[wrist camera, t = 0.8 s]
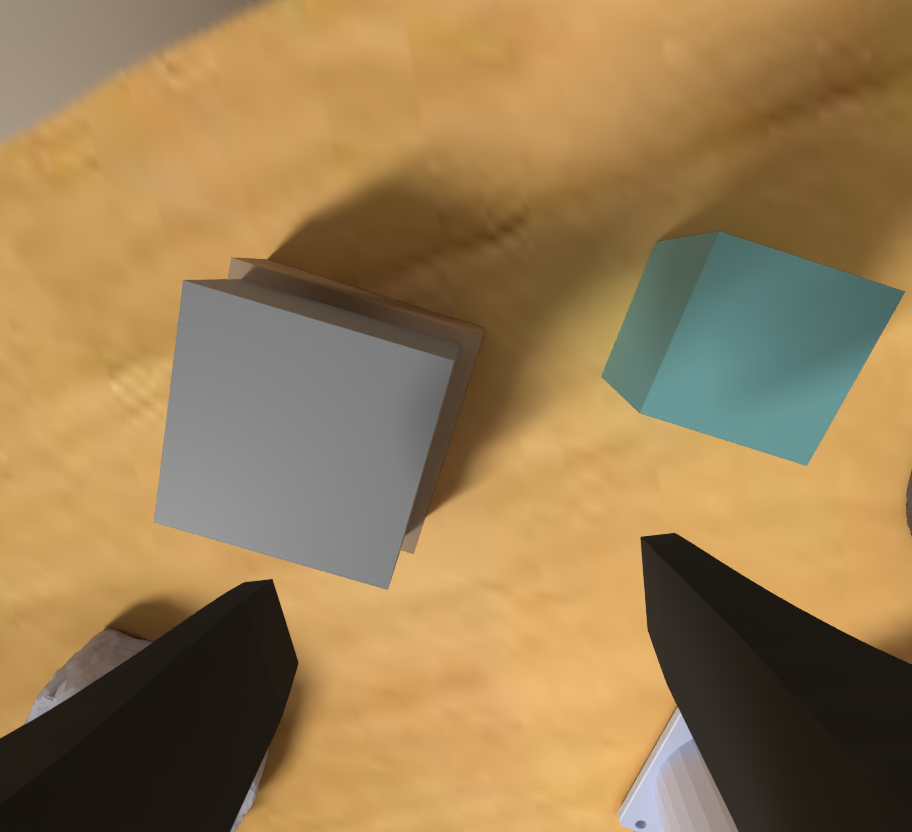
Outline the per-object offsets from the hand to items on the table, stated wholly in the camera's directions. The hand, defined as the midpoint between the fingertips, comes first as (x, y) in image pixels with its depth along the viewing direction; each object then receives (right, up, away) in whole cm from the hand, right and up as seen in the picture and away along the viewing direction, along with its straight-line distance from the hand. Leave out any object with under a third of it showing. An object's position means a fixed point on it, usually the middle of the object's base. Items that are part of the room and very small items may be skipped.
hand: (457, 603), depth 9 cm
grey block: (-4, +4, +7) cm, 9 cm away
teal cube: (+8, +7, +8) cm, 13 cm away
